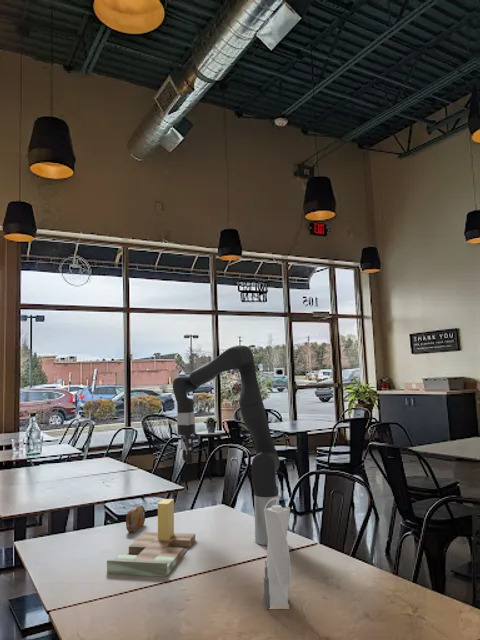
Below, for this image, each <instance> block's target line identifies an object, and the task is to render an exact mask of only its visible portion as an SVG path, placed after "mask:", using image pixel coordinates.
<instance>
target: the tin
mask: <svg viewBox="0 0 480 640" xmlns="http://www.w3.org/2000/svg"><path fill="white" fill-rule="evenodd" d="M145 521H146V510H145V507H144V506H143V505H136V506H134V507H133V508H132V509H131V510H129V511H128V512H127V513H126V516H125V524H126V525H125V526H126V531H127V532H129V533H136V532H137V531H138V530H139V529H141V528H142V527H143V526H144V525H145V523H146V522H145Z"/></svg>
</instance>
